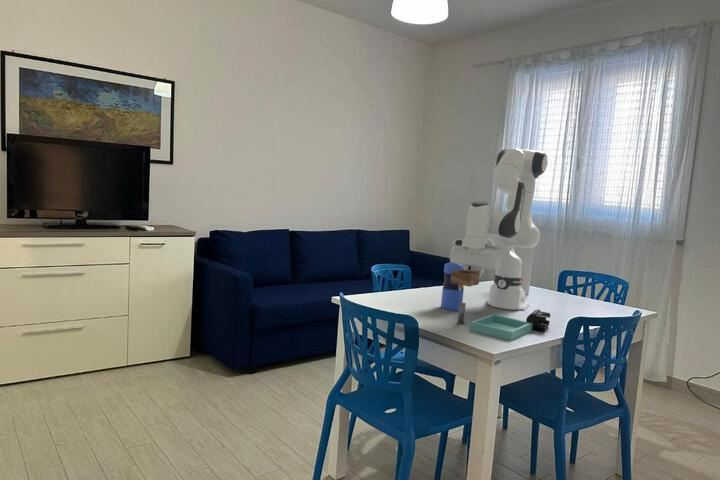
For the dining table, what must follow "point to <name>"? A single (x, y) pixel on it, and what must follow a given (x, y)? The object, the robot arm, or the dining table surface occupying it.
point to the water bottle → (451, 289)
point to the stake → (461, 313)
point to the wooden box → (465, 277)
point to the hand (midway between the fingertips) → (472, 277)
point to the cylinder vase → (525, 266)
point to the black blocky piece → (539, 320)
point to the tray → (501, 327)
